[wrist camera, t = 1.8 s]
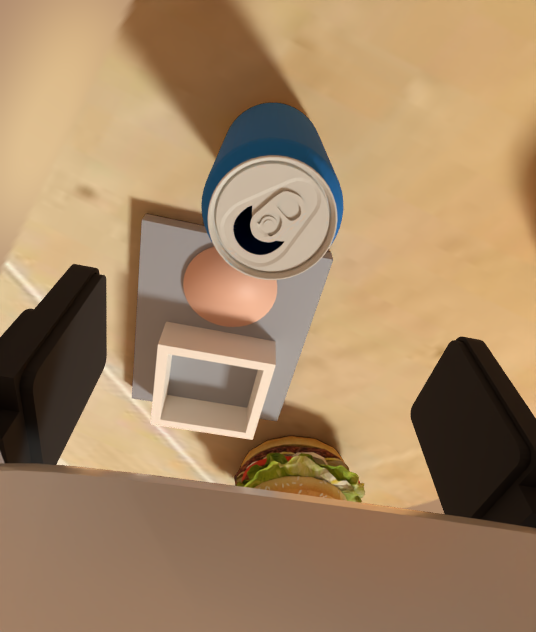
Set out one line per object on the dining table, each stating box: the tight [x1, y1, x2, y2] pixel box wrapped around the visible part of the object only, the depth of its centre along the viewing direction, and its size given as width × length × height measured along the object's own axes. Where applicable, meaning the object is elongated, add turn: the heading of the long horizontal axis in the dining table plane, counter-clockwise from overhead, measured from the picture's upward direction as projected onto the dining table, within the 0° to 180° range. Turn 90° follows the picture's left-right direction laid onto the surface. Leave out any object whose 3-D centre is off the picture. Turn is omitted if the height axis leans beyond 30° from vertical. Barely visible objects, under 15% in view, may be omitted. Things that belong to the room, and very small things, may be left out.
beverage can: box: [202, 103, 343, 280], centre depth 23 cm, size 6×6×12 cm
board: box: [132, 214, 333, 440], centre depth 34 cm, size 18×14×4 cm
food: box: [235, 436, 365, 503], centre depth 44 cm, size 14×14×8 cm
